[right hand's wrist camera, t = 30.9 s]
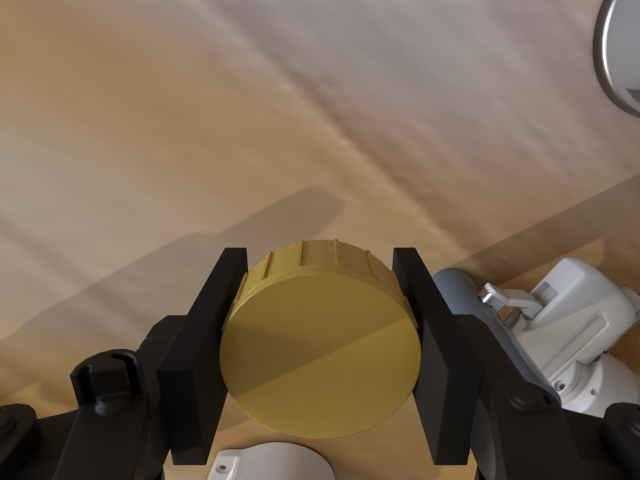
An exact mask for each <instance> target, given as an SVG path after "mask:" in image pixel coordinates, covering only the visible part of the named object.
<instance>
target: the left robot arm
mask: <svg viewBox="0 0 640 480" xmlns="http://www.w3.org/2000/svg"><path fill="white" fill-rule="evenodd" d="M478 296H479V297H481V298H480V299H481V300H482V301H483V302H484V303H485V304H487V305H489V306H491V307H492V308H493V309H495V310H496V311H499V310H500V309H501V308H502V307H503V306H504V305H505V306H515V307H516V308H515V309H514V310H513V311H512V312H511V313H510V314H509V315H508V316H507V317H506V318H505V319H504V320H503V321H504V322H505V324H506V325H507V326H508V328H509V329H510V330H511V332H512V333H513V334H514V336H515V337H516V338H517V340H518V341H519V342H520V344H521V345H522V346H523V347H524V349H525V350H526V351H527V353H528V354H529V355H530V357H531V358H532V359H533V361H534V362H535V363H536V365H537V366H538V367H539V369H540V370H541V371H542V373H543V374H544V375H545V377H546V378H547V379H548V380H549V382H550V383H551V384H552V386H553V387H554V388H555V390H556V391H557V392H558V394H559V395H560V398H561V401H562V408H564V409H568V410H571V411H575V412H579V413H584V414H588V415H592V416H597V417H601V418H603V416H604V413H605V410H606V408H607V407H609V406H610V405H611V404H612V403H619V402H627V403H634V404H639V405H640V375H639V374H636V373H633V371H632V370H631V369H630V368H629V367H628V366H627V365H625V364H624V363H623V362H621V361H620V360H618V359H617V358H615V357H614V356H612V355H611V354H609V353H608V352H607V351H608V350H610V349H611V348H612V347H613V346H614V345H615V344H616V343H617V342H618V341H619V340H620V339H621V338H622V337H623V336H624V335H625V333H626V332H627V331H629V330H630V329H631V328H634V327H635V326H636V325H637V324H638V323H639V322H640V294H638V293H637V292H636V291H634V290H633V289H631V288H630V287H627V286H622V285H616V284H615V283H613V282H612V281H611V280H610V279H609V278H607V277H606V276H605V275H604V274H603V273H601V272H600V271H598V270H597V269H596V268H594V267H593V266H591V265H590V264H589V263H587V262H586V261H584V260H583V259H581V258H579V257H568V258H564V259H562V260H561V261H560V262H559V263H558V264H557V265H556V266H555V267H554V268H553V269H552V270H551V271H550V272H549V273H548V274H547V275H546V276H545V277H544V278H543V280H542V281H541V282H540V283H539V284H538V285H537V286H536V287H535V288H534V289H533V290H532V291H531V292H530V293H527V292H525V291H524V290H522V289H502V290H500V289H499V288H497V287H495V286H494V285H492V284H491V283H489V282H488V283H487V284H486V285H485V286H484V287H483V289H482V290H481V291H480V292H479V293H478ZM207 480H335V476H334V473H333V470H332V468H331V466H330V465H329V464H328V462H327V461H326V460H325V459H324V458H323V457H322V456H320V455H319V454H318V453H316V452H314V451H313V450H311V449H308V448H306V447H303V446H300V445H297V444H292V443H284V442H272V443H264V444H260V445H256V446H253V447H250V448H246V449H226V450H222V451H220V452H219V453H218V454H217V456H216V458H215V461H214V463H213V465H212V468H211V470H210V473H209V475H208V477H207Z"/></svg>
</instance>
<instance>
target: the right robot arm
mask: <svg viewBox="0 0 640 480" xmlns="http://www.w3.org/2000/svg"><path fill="white" fill-rule="evenodd" d="M593 61H594V67H595V71H596V75H597V78H598V80H599V83H600V85H601V87H602V89H603V91H604V92H605V94H606V95H607V96H608V98H609V99H610V100H611V101H612V102H613V103H614V104H615V105H616V106H618V107H619V108H620V109H622V110H623V111H625V112H627V113H629V114H631V115H634V116H637V117H640V0H603V3H602V5H601V8H600V11H599V14H598V17H597V21H596V25H595V30H594V37H593ZM392 270H393V271H394V273H395V275H396V278H397V280H398V283H399V285H400V288H401V290H402V293H403V295H404V297H405V296H407V299H408V301H409V304H410V306H411V309H412V311H413V314H414V316H415V319H416V321H417V324H418V326H419V329H418V330H417V331H418V334H419V338H420V342H421V351H422V353H421V362H420V371H419V377H418V380H417V382H416V385H415V387H414V389H413V390H412V392H413V395H414V399H415V402H416V405H417V409H418V412H419V415H420V419H421V422H422V425H423V429H424V432H425V436H426V439H427V442H428V446H429V449H430V452H431V456H432V459H433V463H434V465H467V461H468V456H469V451H470V447H471V450H472V452H473V455H474V457H475V460H476V462H477V464H478V465H477V470H476V475H475V480H640V405H639V404H634V403H627V402H619V403H612V404H611V405H610V406H609V407H607V408H606V410H605V413H604V416H603V418H601V417H597V416H592V415H588V414H584V413H579V412H575V411H571V410H568V409H564V408H561V406H560V405H559V403H558V401H557V400H556V398H555V397H554V396H553V395H551V394H550V393H549V392H548V391H547V390H545V389H544V388H542V387H540V386H538V385H536V384H534V383H531V382H528V381H525V379H524V378H523V376H522V375H521V374H520V372H519V371H518V369H517V368H516V366H515V365H514V363H513V362H512V360H511V359H510V357H509V356H508V355H507V353H506V352H505V350H504V349H503V348H501V344H500V343H499V341H498V340H497V339H496V338H495V336H494V334H493V333H492V331H491V330H490V328H489V327H488V325H487V324H486V323H484V322H483V321H482V320H480V319H479V318H477V317H476V316H475V315H473V314H452V312H451V310H450V309H449V307H448V305H447V303H446V301H445V300H444V298H443V296H442V294H441V293H440V291H439V289H438V287H437V286H436V284H435V282H434V280H433V279H432V277H431V275H430V273H429V272H428V270H427V268H426V266H425V265H424V263H423V261H422V259H421V258H420V256H419V254H418V252H417V250H416V249H415V248H394V253H393V266H392ZM246 272H247V273H248V263H247V250H246V248H225V249H224V251H223V253H222V254H221V256H220V258H219V260H218V261H217V263H216V265H215V267H214V268H213V270H212V272H211V274H210V276H209V277H208V279H207V281H206V283H205V284H204V286H203V288H202V290H201V291H200V293H199V295H198V297H197V298H196V300H195V302H194V304H193V305H192V307H191V309H190V311H189V312H188V314H187V315H167V316H166V317H165V318H163V319H162V320H161V321H159V322H158V323H156V324H155V325H154V326H153V327H152V329H151V330H150V332H149V333H148V335H147V336H146V339H144V341H143V342H142V343H141V345H140V346H139V349H137V351H136V352H135V351H131V350H127V349H113V350H109V351H105V352H101V353H98V354H96V355H94V356H92V357H89V358H87V359H86V360H84V361H83V362H82V363H80V364H79V365H78V366H76V367H75V369H74V370H73V372H72V373H71V374H70V377H71V381H72V384H73V388H74V391H75V395H76V398H77V402H78V405H79V409H78V410H75V411H71V412H68V413H63V414H59V415H55V416H51V417H46V418H42V419H38V418H37V415H36V412H35V410H34V409H33V408H32V407H30V406H29V405H25V404H11V405H5V406H1V407H0V480H165V475H164V470H163V465H164V462H165V460H166V457H167V455H168V452H169V450H171V455H172V460H173V465H206V463H207V460H208V457H209V453H210V450H211V446H212V443H213V440H214V436H215V433H216V430H217V426H218V423H219V420H220V416H221V413H222V409H223V406H224V403H225V399H226V396H227V393H228V389H227V387H226V385H225V383H224V380H223V377H222V374H221V368H220V360H219V347H220V341H221V337H222V334H223V333H222V327H223V324H224V322H225V319H226V317H227V314H228V312H229V309H230V307H231V304H232V302H233V299H235V298H236V295H237V293H238V290H239V288H240V285H241V282H242V280H243V277H244V275H245V273H246Z"/></svg>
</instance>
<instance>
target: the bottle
mask: <svg viewBox="0 0 640 480" xmlns="http://www.w3.org/2000/svg"><path fill="white" fill-rule="evenodd" d="M432 279H433V280H434V282H435V284H436V286H437V287H438V289H439V291H440V293H441V294H442V296H443V298H444V300H445V301H446V303H447V305H448V307H449V309H450V310H451V312H452V314H473V315H475V316H476V317H477V318H479V319H480V320H482V321H483V322H484V323H486V324H487V325H488V327H489V328H490V330H491V331H492V333H493V334H494V336H495V338H496V339H497V340H498V341H499V343H500V344H501V348H503V349H504V350H505V352H506V353H507V355H508V356H509V357H510V359H511V360H512V362H513V363H514V365H515V366H516V368H517V369H518V371H519V372H520V374H521V375H522V376H523V378H524V379H525V381H528V382H531V383H534V384H536V385H538V386H540V387H542V388H544V389H545V390H547V391H548V392H549V393H550V394H551V395H553V396H554V397H555V398H556V400H557V401H558V403H559V405H560V406H561V408H562V401H561V398H560V395H559V394H558V392H557V391H556V390H555V388H554V387H553V386H552V384H551V383H550V382H549V380H548V379H547V378H546V377H545V375H544V374H543V373H542V371H541V370H540V369H539V367H538V366H537V365H536V363H535V362H534V361H533V359H532V358H531V357H530V355H529V354H528V353H527V351H526V350H525V349H524V347H523V346H522V345H521V344H520V342H519V341H518V340H517V338H516V337H515V336H514V334H513V333H512V332H511V330H510V329H509V328H508V326H507V325H506V324H505V322H504V321H503V320H502V318H501V317H500V316H499V315H498V313H497V312H496V311H495V309H493V308H492V307H491V306H489V305H487V304H485V303H484V302H483V301H482V300H481V299H480V298H481V297H479V296H478V293H479V292H480V289H479V288H478V287H477V286H476V284H475V283H474V282H473V280H472V279H471V278H470V276H469V275H468V274H467V273H466V272H464V271H463V270H460V269H456V268H448V269H444V270H442V271H440V272H438V273H437V274H435V275H434V276H433V277H432Z"/></svg>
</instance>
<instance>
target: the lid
mask: <svg viewBox="0 0 640 480" xmlns="http://www.w3.org/2000/svg"><path fill="white" fill-rule="evenodd" d="M418 329H419V326H418V324H417V321H416V319H415V316H414V314H413V311H412V309H411V306H410V304H409V301H408V299H407V296H405V297H404V295H403V293H402V290H401V288H400V285H399V283H398V280H397V278H396V275H395V273H394V271H393V270H391V271H390V270H389V269H388V268H387V267H386V266H385V265H384V264H383V263H382V262H381V261H380V260H379V259H377V258H376V257H374V256H373V255H372V254H371V252H370V251H369V250H367V251H365V250H363V249H361V248H359V247H356V246H353V245H350V244H347V243H343V242H338V239H334V241H332V240H309V241H303V239H302V240H299V242H297V243H294V244H290V245H287V246H285V247H282V248H280V249H278V250H276V251H274V252H271V251H270V252H268V253H267V256H266V257H265V258H263V259H262V260H261V261H260V262H258V263H257V264H256V265H255V267H254V268H253V269H252V270H251V271H250V272H249V273H247V272H246V273H245V275H244V277H243V280H242V282H241V285H240V288H239V290H238V293H237V295H236V298H235V299H233V302H232V304H231V307H230V309H229V312H228V314H227V317H226V319H225V322H224V324H223V327H222V333H223V334H222V337H221V341H220V347H219V360H220V368H221V374H222V377H223V380H224V383H225V385H226V387H227V389H228V391H229V393H230V394H231V396H232V397H233V399H234V400H235V402H236V403H237V404H238V405H239V406H240V407H241V408H242V409H243V410H244V411H245V412H246V413H247V414H249V415H250V416H251V417H252V418H254V419H255V420H257V421H258V422H260V423H261V424H263V425H265V426H267V427H269V428H271V429H273V430H276V431H278V432H281V433H284V434H288V435H291V436H296V437H302V438H310V439H331V438H339V437H345V436H349V435H353V434H356V433H359V432H362V431H365V430H367V429H369V428H372V427H374V426H376V425H378V424H379V423H381V422H383V421H384V420H386V419H387V418H388V417H390V416H391V415H392V414H394V413H395V412H396V411H397V410H398V409H399V408H400V407H401V406H402V405H403V403H404V402H405V401H406V400H407V398H408V397H409V396H410V394H411V392H412V390H413V389H414V387H415V385H416V382H417V380H418V377H419V371H420V362H421V353H422V351H421V342H420V338H419V334H418V331H417V330H418Z"/></svg>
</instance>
